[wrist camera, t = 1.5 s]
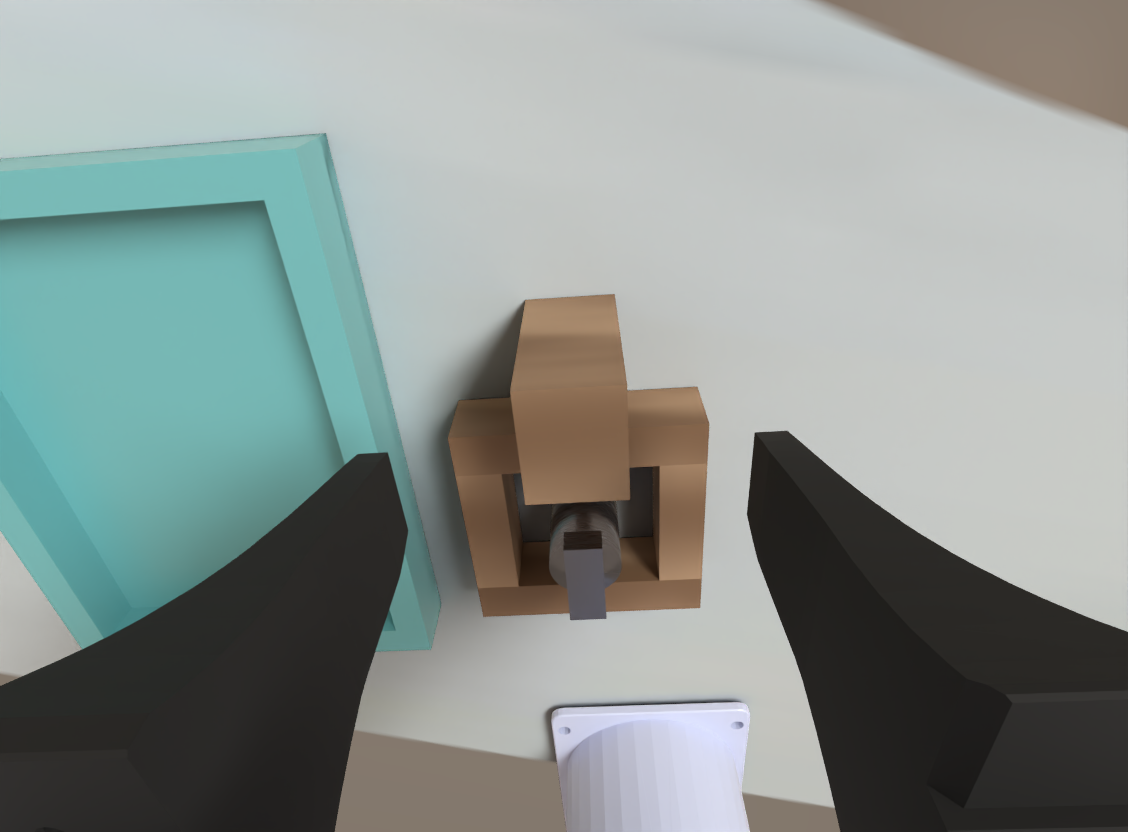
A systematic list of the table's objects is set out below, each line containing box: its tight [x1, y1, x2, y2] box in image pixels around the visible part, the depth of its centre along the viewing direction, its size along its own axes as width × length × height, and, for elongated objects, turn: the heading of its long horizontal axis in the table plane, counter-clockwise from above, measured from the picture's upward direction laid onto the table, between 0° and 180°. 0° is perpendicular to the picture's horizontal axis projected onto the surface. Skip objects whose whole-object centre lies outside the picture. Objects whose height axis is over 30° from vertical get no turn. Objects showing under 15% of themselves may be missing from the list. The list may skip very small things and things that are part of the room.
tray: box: [0, 133, 441, 652], centre depth 19 cm, size 16×12×2 cm
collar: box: [448, 294, 709, 617], centre depth 18 cm, size 10×7×5 cm
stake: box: [549, 501, 622, 620], centre depth 19 cm, size 3×2×4 cm
